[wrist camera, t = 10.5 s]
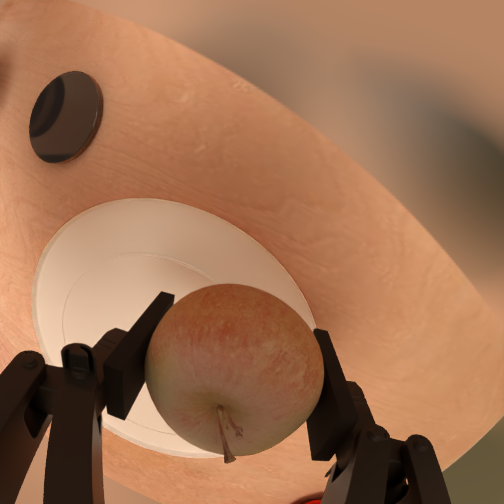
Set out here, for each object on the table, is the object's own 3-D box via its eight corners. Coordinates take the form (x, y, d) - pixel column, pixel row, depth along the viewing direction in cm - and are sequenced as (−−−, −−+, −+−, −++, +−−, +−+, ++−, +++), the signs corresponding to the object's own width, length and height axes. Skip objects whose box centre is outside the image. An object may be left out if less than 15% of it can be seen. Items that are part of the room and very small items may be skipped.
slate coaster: (47, 75, 17) (42, 73, 17) (115, 72, 18) (110, 69, 17) (27, 159, 19) (22, 159, 19) (90, 169, 20) (85, 169, 19)
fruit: (326, 361, 15) (357, 477, 8) (209, 394, 16) (183, 502, 9) (282, 238, 14) (305, 320, 6) (148, 288, 15) (65, 380, 7)
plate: (142, 463, 28) (140, 467, 28) (1, 285, 23) (-2, 287, 22) (357, 409, 24) (359, 413, 24) (215, 124, 18) (213, 122, 18)
